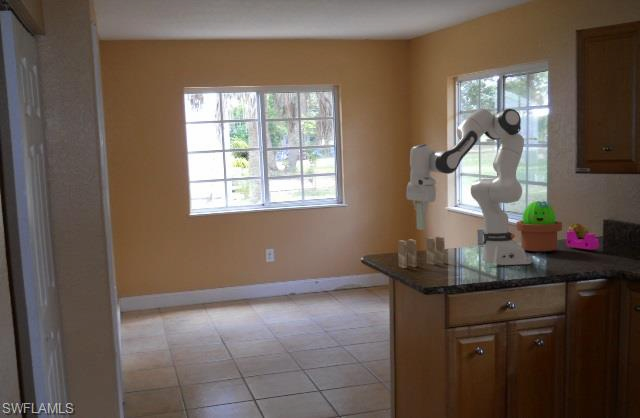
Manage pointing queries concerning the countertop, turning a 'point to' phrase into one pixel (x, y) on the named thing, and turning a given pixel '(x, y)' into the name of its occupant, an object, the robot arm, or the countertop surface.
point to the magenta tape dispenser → (582, 241)
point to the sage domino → (420, 216)
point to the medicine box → (480, 236)
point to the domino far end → (402, 253)
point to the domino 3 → (440, 250)
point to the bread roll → (579, 230)
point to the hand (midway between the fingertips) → (420, 210)
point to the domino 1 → (412, 253)
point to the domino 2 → (430, 250)
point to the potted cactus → (539, 227)
